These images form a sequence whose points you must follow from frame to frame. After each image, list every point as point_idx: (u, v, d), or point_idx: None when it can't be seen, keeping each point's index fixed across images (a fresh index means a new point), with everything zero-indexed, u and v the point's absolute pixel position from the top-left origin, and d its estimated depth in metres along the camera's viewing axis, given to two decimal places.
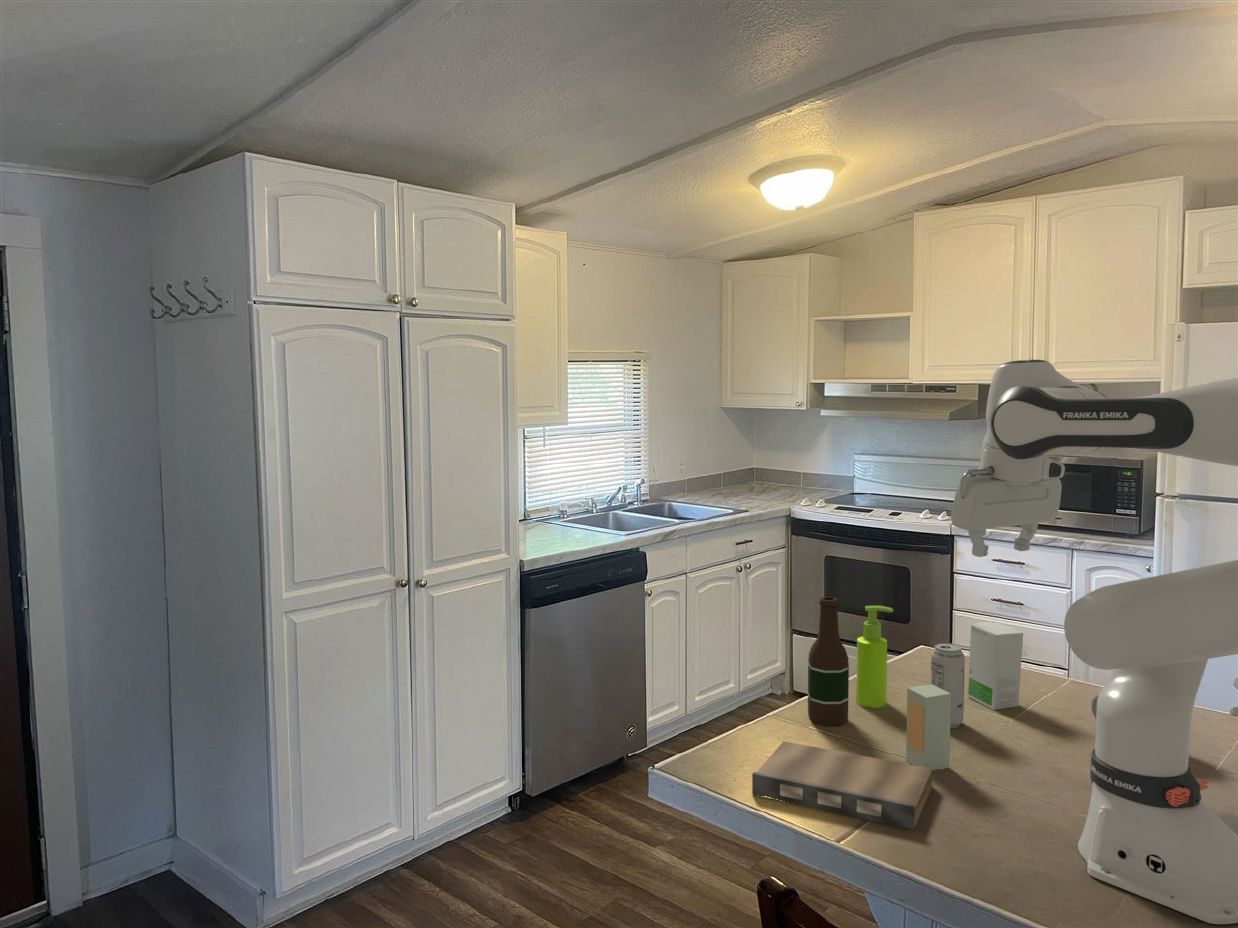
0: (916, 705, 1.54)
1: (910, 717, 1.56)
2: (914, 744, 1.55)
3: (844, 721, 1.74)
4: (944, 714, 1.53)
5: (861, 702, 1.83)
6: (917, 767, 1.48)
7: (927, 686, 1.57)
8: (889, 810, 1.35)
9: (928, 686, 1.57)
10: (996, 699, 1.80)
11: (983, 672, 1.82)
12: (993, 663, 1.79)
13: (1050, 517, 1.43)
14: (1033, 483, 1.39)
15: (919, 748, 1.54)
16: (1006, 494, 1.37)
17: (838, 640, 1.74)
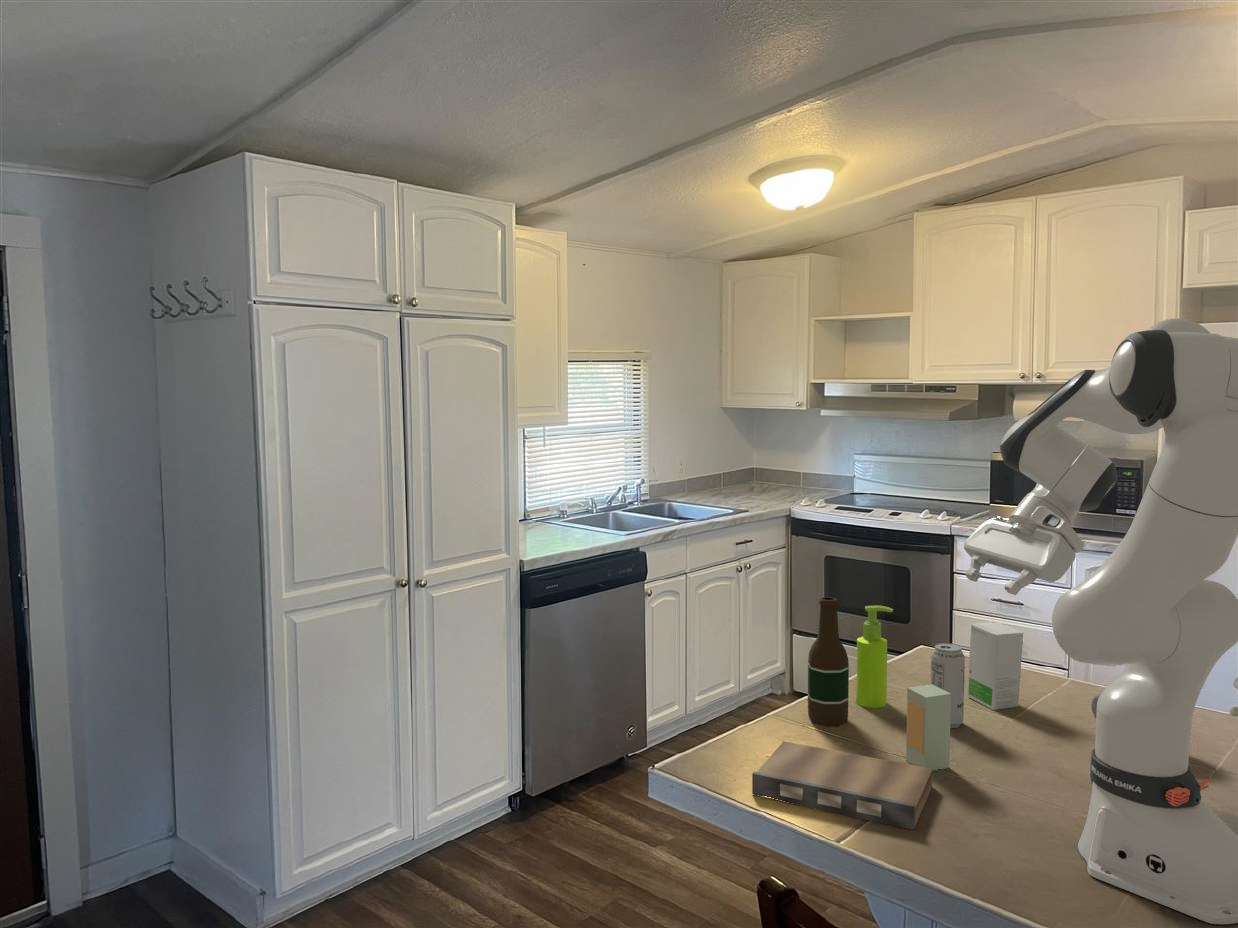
0: (916, 705, 1.54)
1: (910, 717, 1.56)
2: (914, 744, 1.55)
3: (844, 721, 1.74)
4: (944, 714, 1.53)
5: (861, 702, 1.83)
6: (917, 767, 1.48)
7: (927, 686, 1.57)
8: (889, 810, 1.35)
9: (928, 686, 1.57)
10: (996, 699, 1.80)
11: (983, 672, 1.82)
12: (993, 663, 1.79)
13: (1038, 564, 1.49)
14: None
15: (919, 748, 1.54)
16: (1008, 534, 1.60)
17: (838, 640, 1.74)
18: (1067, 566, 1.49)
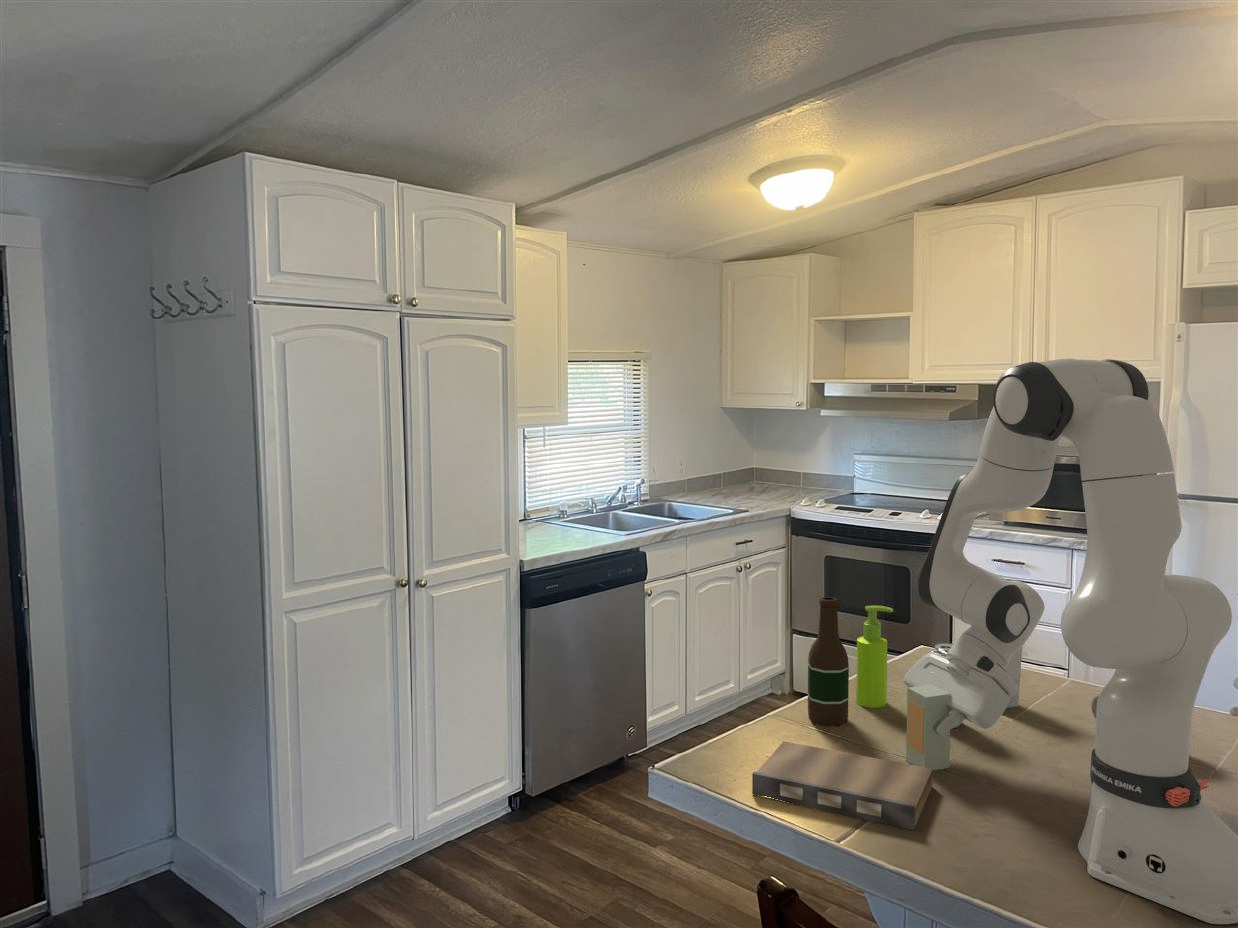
0: (916, 705, 1.54)
1: (910, 717, 1.56)
2: (914, 744, 1.55)
3: (844, 721, 1.74)
4: (944, 714, 1.53)
5: (861, 702, 1.83)
6: (917, 767, 1.48)
7: (927, 686, 1.57)
8: (889, 810, 1.35)
9: (928, 686, 1.57)
10: None
11: None
12: None
13: (971, 711, 1.48)
14: None
15: (919, 748, 1.54)
16: (946, 672, 1.58)
17: (838, 640, 1.74)
18: (1000, 712, 1.48)
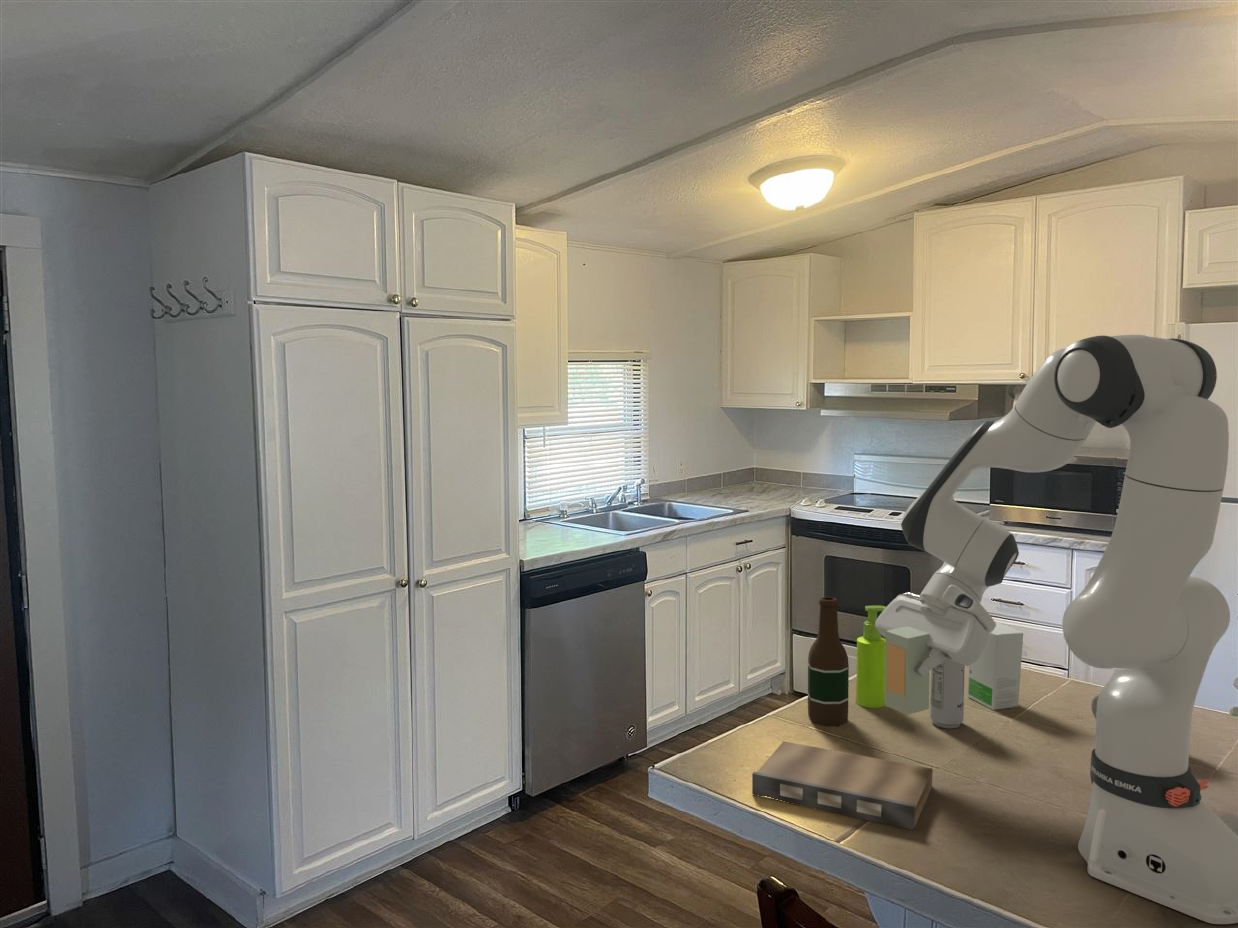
0: (896, 647, 1.51)
1: (889, 660, 1.53)
2: (894, 687, 1.52)
3: (844, 721, 1.74)
4: (924, 655, 1.51)
5: (861, 702, 1.83)
6: (917, 767, 1.48)
7: (904, 628, 1.54)
8: (889, 810, 1.35)
9: (905, 628, 1.55)
10: (996, 699, 1.80)
11: (983, 672, 1.82)
12: (993, 663, 1.79)
13: (954, 648, 1.46)
14: (947, 612, 1.52)
15: (900, 691, 1.51)
16: (920, 613, 1.57)
17: (838, 640, 1.74)
18: (981, 648, 1.47)
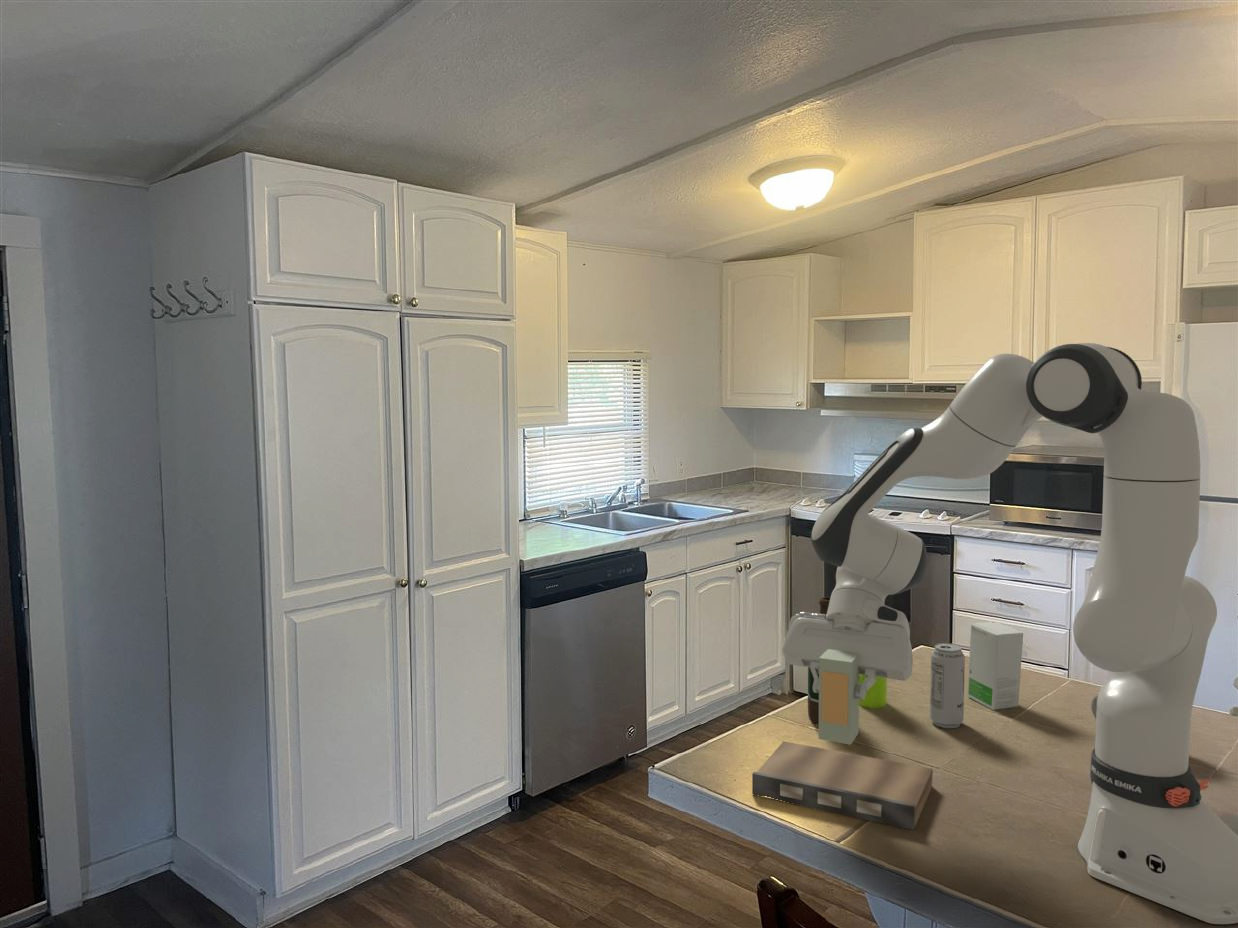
0: (836, 674, 1.39)
1: (826, 689, 1.40)
2: (833, 717, 1.40)
3: None
4: (857, 676, 1.42)
5: (861, 702, 1.83)
6: (917, 767, 1.48)
7: (829, 652, 1.43)
8: (889, 810, 1.35)
9: (830, 651, 1.44)
10: (996, 699, 1.80)
11: (983, 672, 1.82)
12: (993, 663, 1.79)
13: (895, 665, 1.40)
14: (868, 627, 1.45)
15: (842, 720, 1.40)
16: (834, 633, 1.47)
17: None
18: (912, 660, 1.43)
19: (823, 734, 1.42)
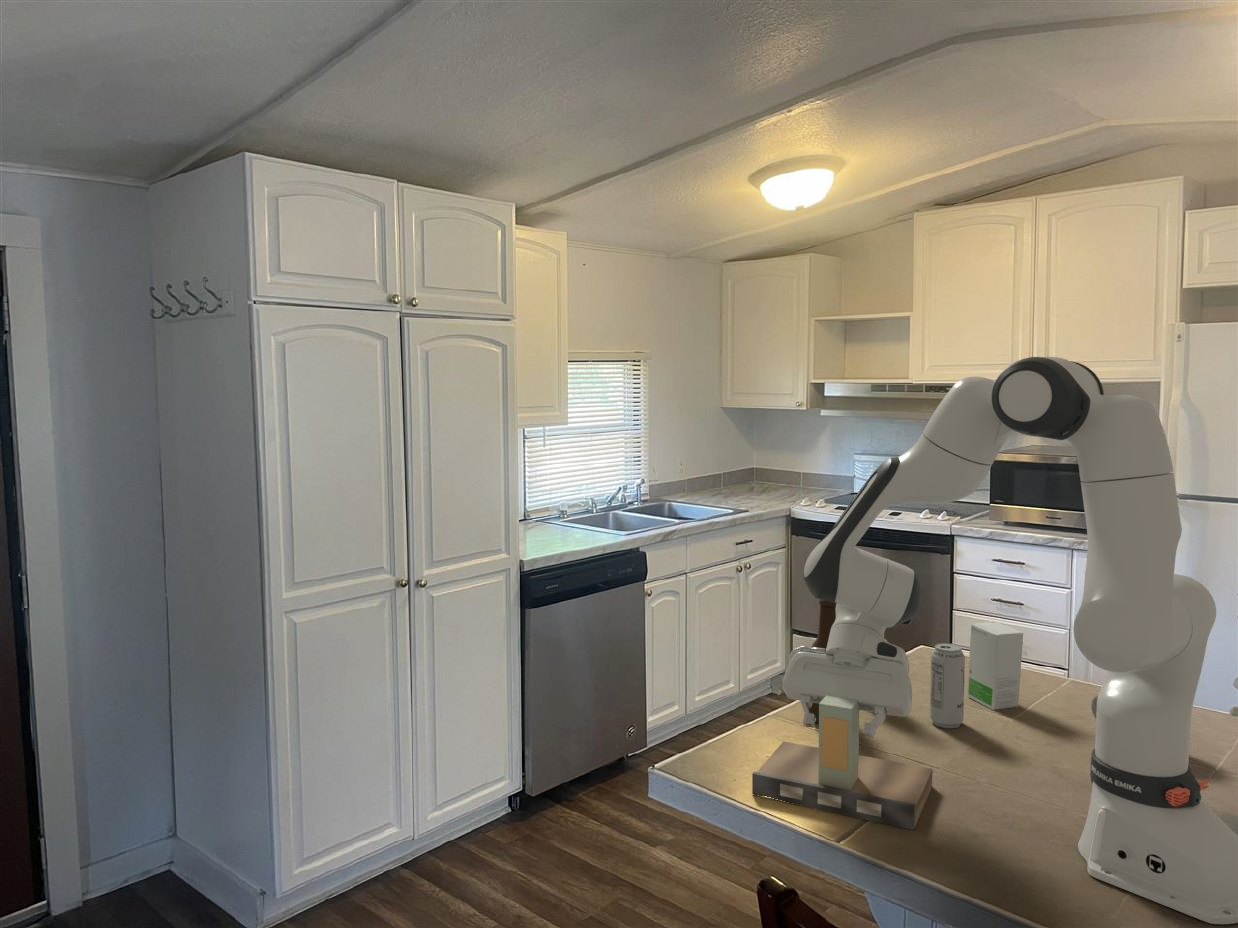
0: (836, 720, 1.40)
1: (826, 735, 1.41)
2: (833, 763, 1.41)
3: None
4: (857, 722, 1.43)
5: None
6: (917, 767, 1.48)
7: (829, 696, 1.44)
8: (889, 810, 1.35)
9: (830, 696, 1.44)
10: (996, 699, 1.80)
11: (983, 672, 1.82)
12: (993, 663, 1.79)
13: (895, 701, 1.40)
14: (867, 663, 1.46)
15: (842, 766, 1.40)
16: (834, 668, 1.48)
17: None
18: (911, 696, 1.43)
19: (823, 779, 1.42)
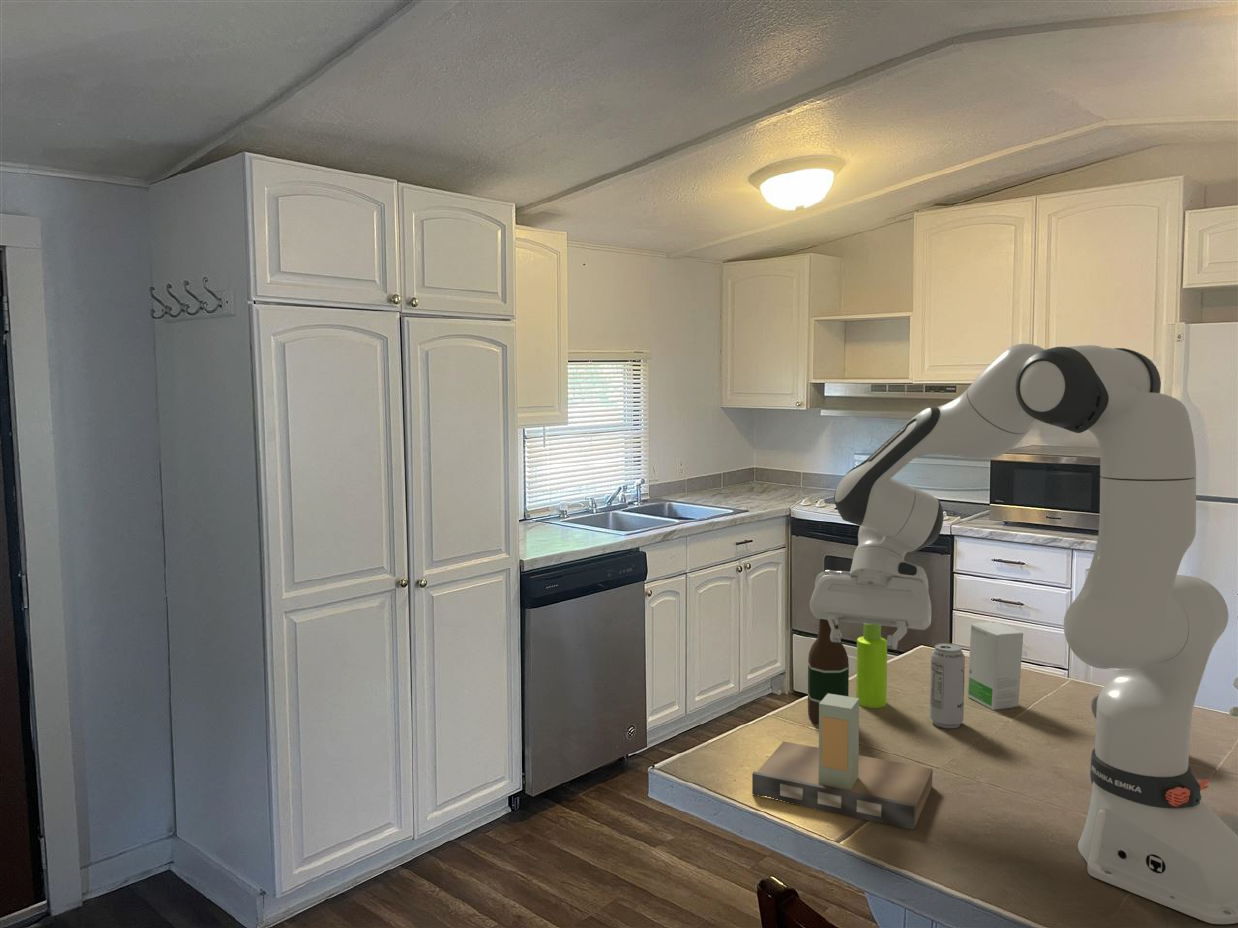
0: (836, 720, 1.40)
1: (826, 735, 1.41)
2: (833, 763, 1.41)
3: None
4: (857, 722, 1.43)
5: (861, 702, 1.83)
6: (917, 767, 1.48)
7: (829, 696, 1.44)
8: (889, 810, 1.35)
9: (830, 696, 1.44)
10: (996, 699, 1.80)
11: (983, 672, 1.82)
12: (993, 663, 1.79)
13: (916, 615, 1.51)
14: (889, 582, 1.56)
15: (842, 766, 1.40)
16: (858, 588, 1.58)
17: None
18: None
19: (823, 779, 1.42)
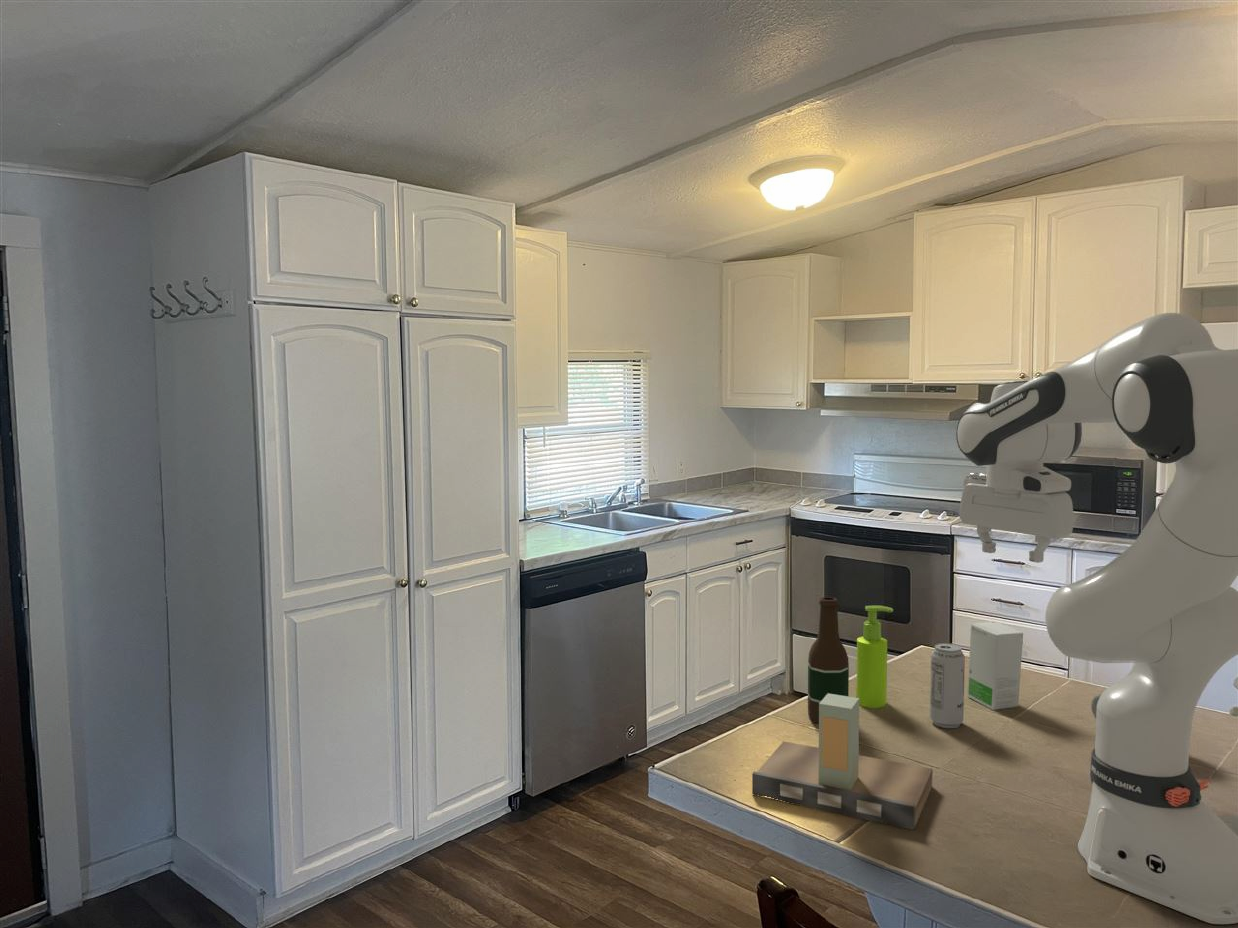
0: (836, 720, 1.40)
1: (826, 735, 1.41)
2: (833, 763, 1.41)
3: None
4: (857, 722, 1.43)
5: (861, 702, 1.83)
6: (917, 767, 1.48)
7: (829, 696, 1.44)
8: (889, 810, 1.35)
9: (830, 696, 1.44)
10: (996, 699, 1.80)
11: (983, 672, 1.82)
12: (993, 663, 1.79)
13: (1048, 533, 1.48)
14: (1021, 494, 1.52)
15: (842, 766, 1.40)
16: (996, 499, 1.56)
17: (838, 640, 1.74)
18: (1071, 515, 1.48)
19: (823, 779, 1.42)
